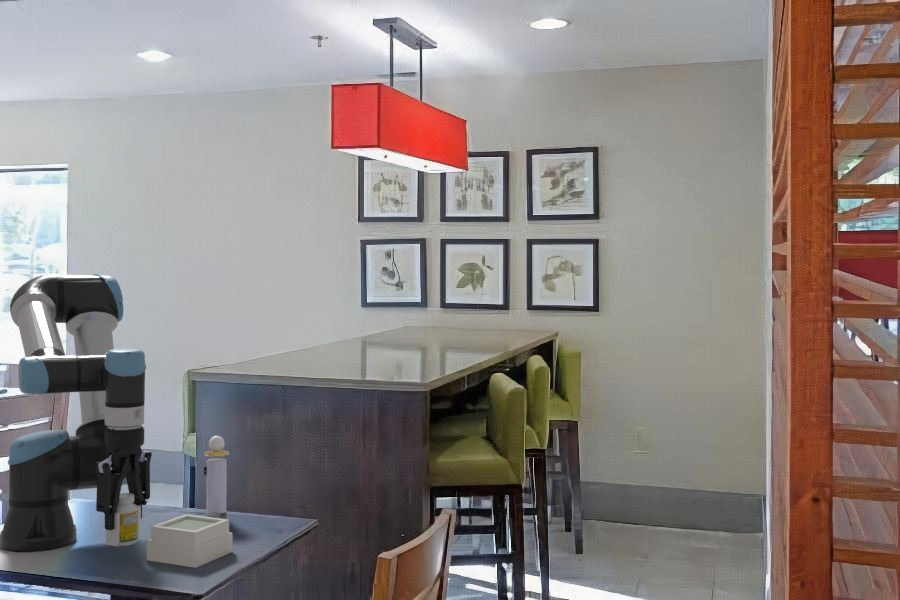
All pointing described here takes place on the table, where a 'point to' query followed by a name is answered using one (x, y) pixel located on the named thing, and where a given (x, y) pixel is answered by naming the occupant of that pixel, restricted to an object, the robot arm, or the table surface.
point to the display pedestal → (189, 540)
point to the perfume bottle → (216, 476)
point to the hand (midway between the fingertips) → (123, 540)
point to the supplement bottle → (127, 519)
